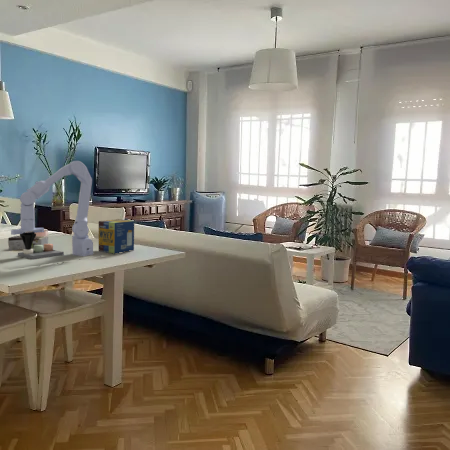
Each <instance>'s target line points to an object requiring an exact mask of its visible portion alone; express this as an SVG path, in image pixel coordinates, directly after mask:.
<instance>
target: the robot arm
mask: <svg viewBox="0 0 450 450" xmlns="http://www.w3.org/2000/svg"><path fill="white" fill-rule="evenodd" d="M71 175H73V176H74V177H76V179H78V181H79V182H80V188H79V195H78V196H79V197H78V201H77V202H78V204H77V211H76V216H75V220H74V223H73V225H72V227H71V230H72V232H73V235H72V236H71V239H72V240H71V243H72V244H71V245H72V251H71V252H72V256H80V257H87V256H93V255H94V242H93V240H92V239H91V238H90V237H89V235H88V234H89V231H90V230H89V227H88V216H89V215H88V214H89V207H90V199H91V192H92V184H93V178H92V177H91V174H90V172H89V169H88V167H87V166H86V165H85V164H84V163H83V162H82V161H80V160H73V161H71V162H69V163H68V164H65V165H63V166H62V167H61V168H58V169H57V171H55V172H54V173H53V174H52V175H50V176H49V177H48V178H46V179H45V180H39V181H35V184H33V185H32V186H31V187H30V188H27V189H26V191H25V192H23V193H22V194H20V197H19V200H20V202H21V203H20V228H18V229H10V234H11V235H13V236H17V235H19V236H20V237H21V238H22V240H23V242H24V245H25V249H27V250H30V249H31V246H32V243H33V240H34V238H35V237H36V236H37V233H44V232H45V228H44V227H36V219H35V215H36V214H35V211H36V210H35V206H34V205H35V202H36V200H39V199H40V198H41V197H43V196H44V195H45V194H46V193H48V192H49V191H50V187H51V186H52V185H54V184H55V183H56V182H58V181H59V180H61V179H62V178H63V177H65V176H71Z"/></svg>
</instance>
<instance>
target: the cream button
mask: <svg viewBox="0 0 450 450" xmlns="http://www.w3.org/2000/svg"><path fill="white" fill-rule="evenodd" d="M33 251H34V249H30V250H27V249H22V252H23V254H33Z"/></svg>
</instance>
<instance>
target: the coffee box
mask: <svg viewBox="0 0 450 450" xmlns="http://www.w3.org/2000/svg"><path fill="white" fill-rule="evenodd" d="M7 239H8V241H7V243H8V251H15V250H16V251H17V250H23V249H25V245H24V242H23V240H22V238H21V237H20V235H13V236H10V237H8V238H7ZM44 244H49V236H40V235H39V236H38V235H36V237H35V238H34V240H33V243H32V246H31V249H33V250H34V245H43V250H44Z"/></svg>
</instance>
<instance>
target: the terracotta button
mask: <svg viewBox="0 0 450 450" xmlns="http://www.w3.org/2000/svg"><path fill="white" fill-rule="evenodd" d="M43 250H44V251H53V250H54V244H53V243H48V244H44V249H43Z"/></svg>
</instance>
